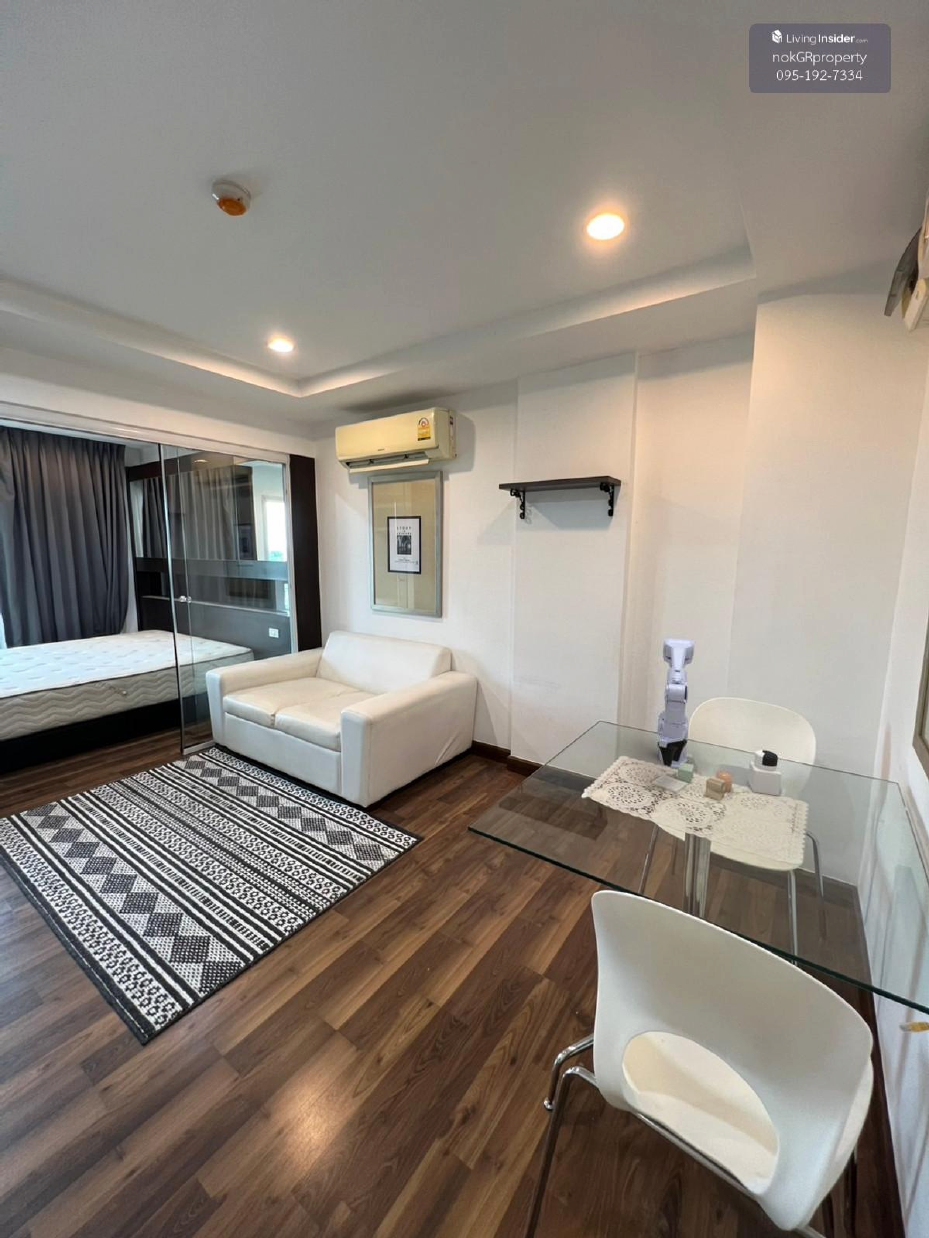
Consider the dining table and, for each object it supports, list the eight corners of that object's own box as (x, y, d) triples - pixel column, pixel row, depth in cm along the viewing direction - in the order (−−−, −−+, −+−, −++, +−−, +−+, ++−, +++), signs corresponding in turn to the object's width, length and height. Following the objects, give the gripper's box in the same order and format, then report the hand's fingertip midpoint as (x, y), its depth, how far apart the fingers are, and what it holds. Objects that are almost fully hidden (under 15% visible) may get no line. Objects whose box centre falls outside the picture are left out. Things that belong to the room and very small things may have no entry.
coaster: (663, 776, 159) (663, 774, 158) (687, 785, 153) (687, 783, 153) (651, 783, 153) (651, 782, 153) (676, 793, 147) (676, 791, 147)
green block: (677, 780, 156) (679, 773, 161) (690, 783, 154) (692, 776, 159) (678, 768, 156) (680, 762, 161) (691, 771, 153) (693, 765, 159)
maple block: (710, 791, 149) (711, 776, 148) (724, 796, 146) (725, 781, 145) (705, 796, 146) (706, 780, 145) (719, 801, 143) (720, 785, 142)
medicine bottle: (773, 785, 153) (776, 749, 152) (779, 796, 146) (783, 758, 145) (747, 782, 155) (750, 746, 154) (752, 792, 149) (756, 755, 147)
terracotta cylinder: (718, 784, 154) (719, 769, 153) (733, 789, 150) (734, 774, 150) (713, 788, 151) (714, 773, 150) (728, 793, 147) (729, 778, 147)
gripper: (671, 713, 158) (669, 753, 160) (650, 723, 148) (647, 765, 150) (693, 719, 153) (690, 759, 155) (673, 729, 143) (670, 772, 145)
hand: (671, 763), depth 152 cm, fingers open, 5 cm apart
